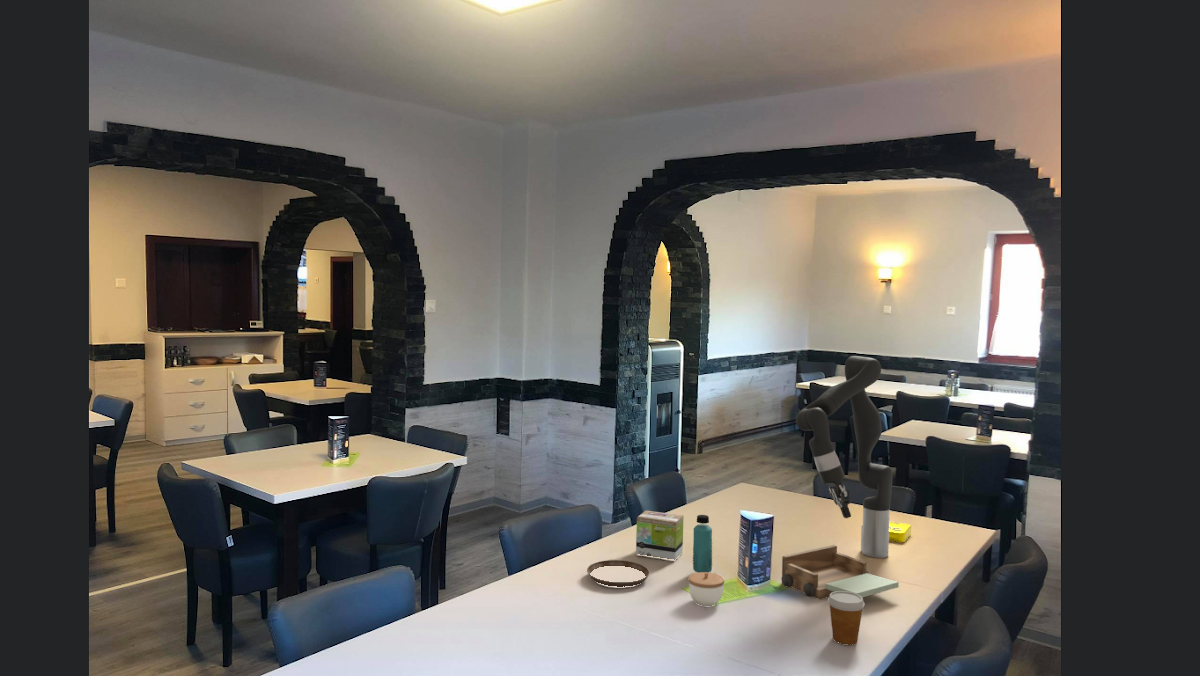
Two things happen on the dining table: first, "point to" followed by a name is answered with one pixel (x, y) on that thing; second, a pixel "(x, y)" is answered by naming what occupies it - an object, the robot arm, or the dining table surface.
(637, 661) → the dining table surface
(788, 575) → the drawer box
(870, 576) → the panel
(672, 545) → the tea box
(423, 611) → the dining table surface
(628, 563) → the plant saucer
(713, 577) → the lidded jar
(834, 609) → the disposable coffee cup
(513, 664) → the dining table surface
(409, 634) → the dining table surface
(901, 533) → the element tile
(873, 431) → the robot arm
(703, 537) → the beverage bottle
